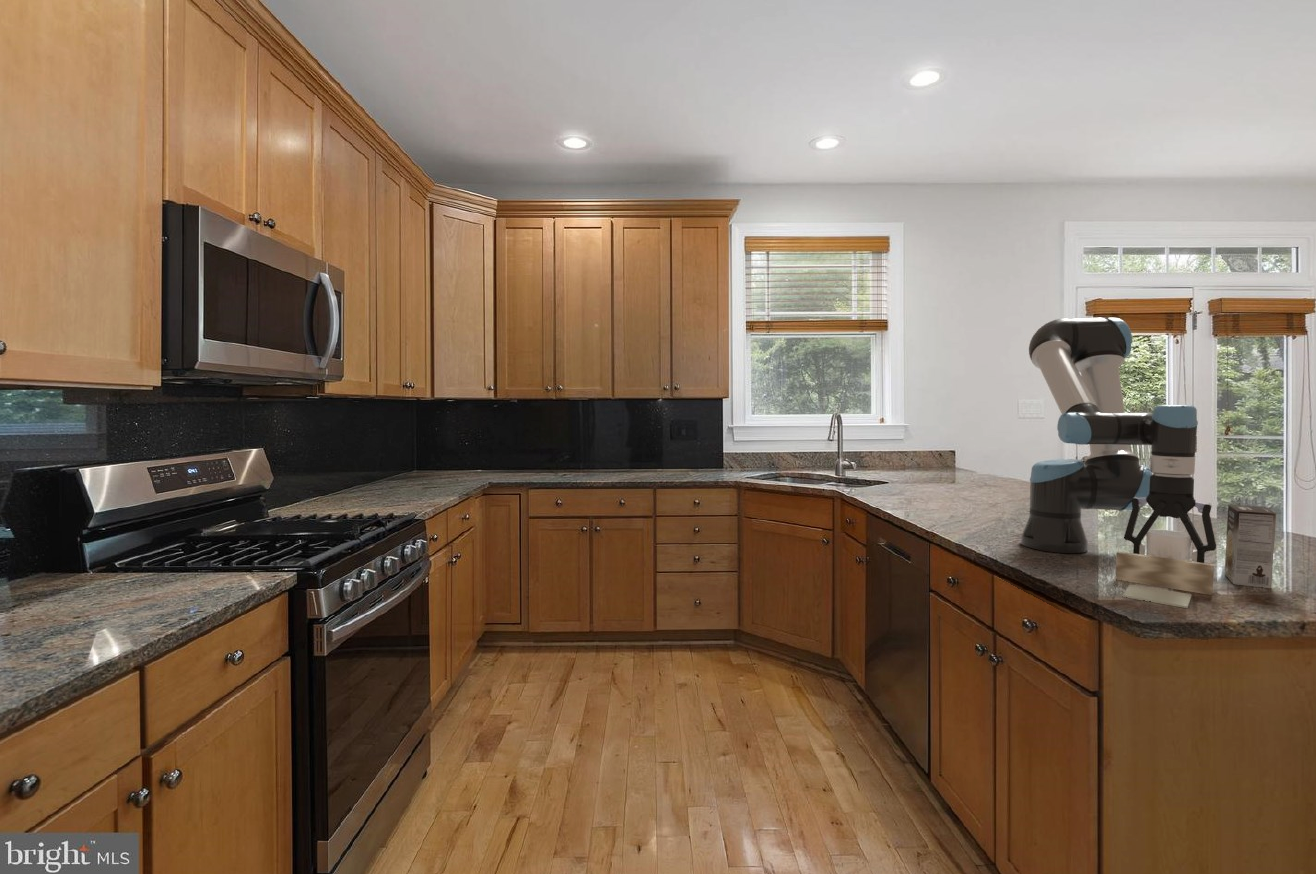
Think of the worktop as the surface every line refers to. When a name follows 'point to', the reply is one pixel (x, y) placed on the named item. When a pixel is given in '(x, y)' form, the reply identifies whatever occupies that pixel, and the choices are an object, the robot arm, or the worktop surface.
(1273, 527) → the coffee box
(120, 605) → the worktop surface
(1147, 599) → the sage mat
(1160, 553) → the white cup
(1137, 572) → the birch screen
